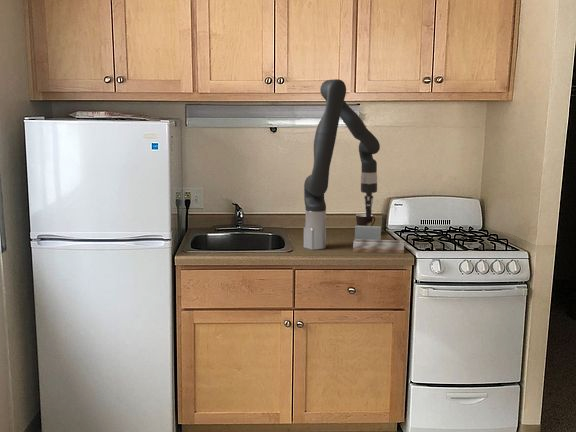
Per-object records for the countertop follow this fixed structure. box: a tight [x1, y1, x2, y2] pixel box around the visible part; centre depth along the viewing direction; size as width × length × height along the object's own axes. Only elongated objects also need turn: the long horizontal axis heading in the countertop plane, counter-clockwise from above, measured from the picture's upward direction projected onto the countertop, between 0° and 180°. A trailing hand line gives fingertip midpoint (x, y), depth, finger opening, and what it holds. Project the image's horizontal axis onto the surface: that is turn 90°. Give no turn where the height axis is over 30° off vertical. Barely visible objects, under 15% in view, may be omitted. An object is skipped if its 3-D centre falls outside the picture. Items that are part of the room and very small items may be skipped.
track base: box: [352, 238, 405, 254], centre depth 255 cm, size 22×9×4 cm, turn 80°
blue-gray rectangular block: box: [354, 225, 382, 240], centre depth 271 cm, size 12×4×8 cm, turn 80°
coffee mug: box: [355, 213, 376, 226], centre depth 290 cm, size 12×9×10 cm
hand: (368, 216), depth 269 cm, fingers open, 8 cm apart
